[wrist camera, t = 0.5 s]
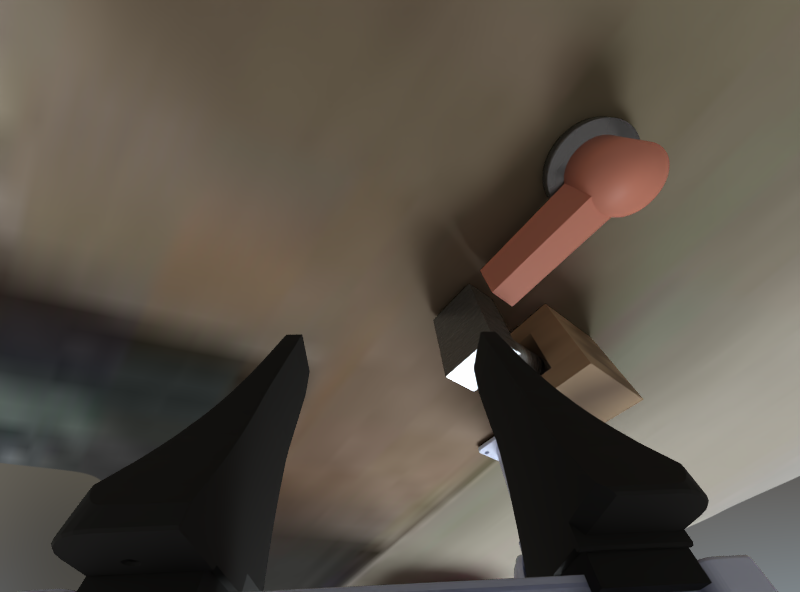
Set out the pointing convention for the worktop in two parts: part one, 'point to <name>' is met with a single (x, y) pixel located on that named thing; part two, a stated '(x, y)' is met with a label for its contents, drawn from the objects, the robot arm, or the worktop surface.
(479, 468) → the worktop surface
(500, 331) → the bolt
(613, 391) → the eye block
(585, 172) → the latch lever
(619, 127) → the lever base
